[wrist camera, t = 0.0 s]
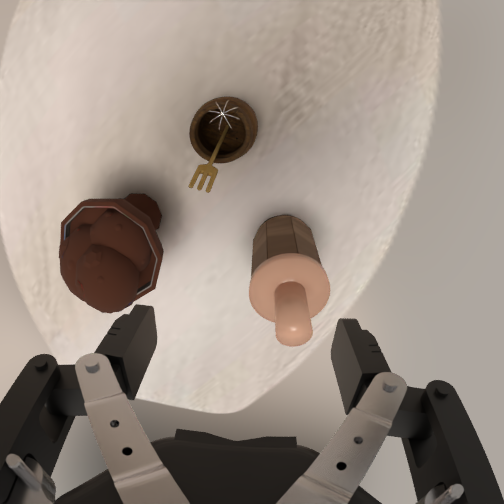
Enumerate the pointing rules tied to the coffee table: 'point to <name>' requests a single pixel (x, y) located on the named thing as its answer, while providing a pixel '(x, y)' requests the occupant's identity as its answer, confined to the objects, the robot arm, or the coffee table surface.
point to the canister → (282, 240)
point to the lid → (290, 295)
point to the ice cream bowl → (111, 251)
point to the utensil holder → (221, 134)
